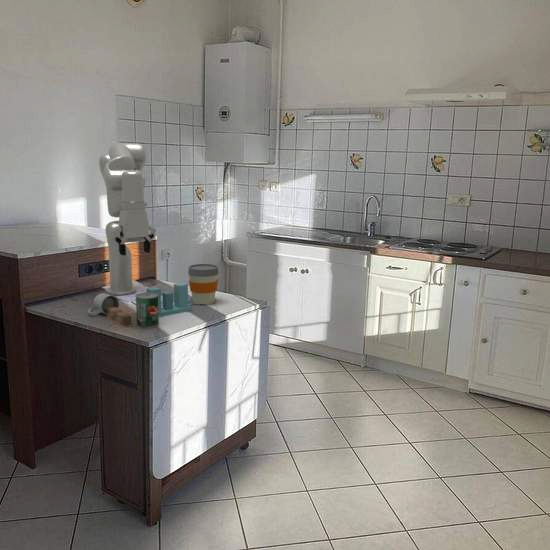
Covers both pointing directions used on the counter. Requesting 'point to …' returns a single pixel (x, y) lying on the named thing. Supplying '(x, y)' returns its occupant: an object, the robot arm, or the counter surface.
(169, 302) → the display stand
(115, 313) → the walnut bar
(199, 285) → the reusable coffee cup
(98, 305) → the ceramic mug
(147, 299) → the canned tomato
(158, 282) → the counter surface
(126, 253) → the robot arm
